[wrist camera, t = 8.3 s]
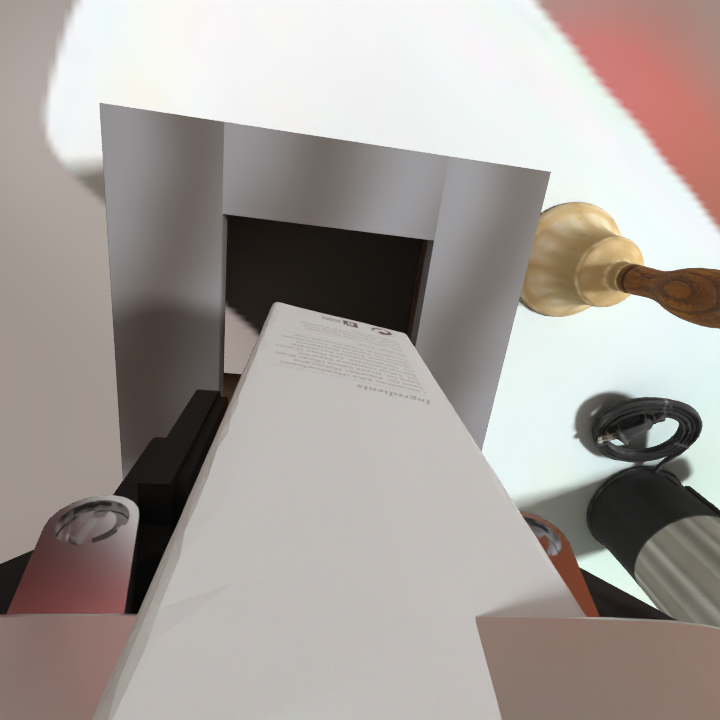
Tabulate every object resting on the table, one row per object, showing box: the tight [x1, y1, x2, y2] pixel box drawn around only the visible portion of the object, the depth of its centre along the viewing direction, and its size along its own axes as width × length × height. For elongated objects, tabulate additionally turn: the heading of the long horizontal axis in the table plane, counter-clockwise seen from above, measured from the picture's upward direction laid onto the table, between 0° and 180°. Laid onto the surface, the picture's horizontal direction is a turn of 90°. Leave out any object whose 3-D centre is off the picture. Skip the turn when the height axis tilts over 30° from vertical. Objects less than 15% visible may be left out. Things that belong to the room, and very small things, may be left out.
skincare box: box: [92, 302, 586, 720], centre depth 8 cm, size 6×4×12 cm
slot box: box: [100, 103, 551, 480], centre depth 25 cm, size 16×16×14 cm
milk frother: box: [587, 397, 720, 628], centre depth 33 cm, size 14×16×15 cm
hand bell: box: [520, 202, 720, 329], centre depth 25 cm, size 8×8×16 cm
